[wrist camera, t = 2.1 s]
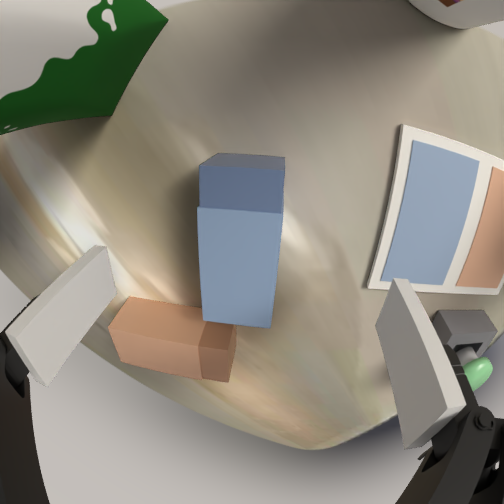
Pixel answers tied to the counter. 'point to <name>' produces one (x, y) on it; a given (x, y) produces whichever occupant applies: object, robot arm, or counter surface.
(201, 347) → the block
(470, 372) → the button
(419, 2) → the milk bottle
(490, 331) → the button housing
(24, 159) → the counter surface
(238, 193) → the block
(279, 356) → the counter surface
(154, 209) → the counter surface
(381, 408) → the counter surface
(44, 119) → the milk carton
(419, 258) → the picture board
